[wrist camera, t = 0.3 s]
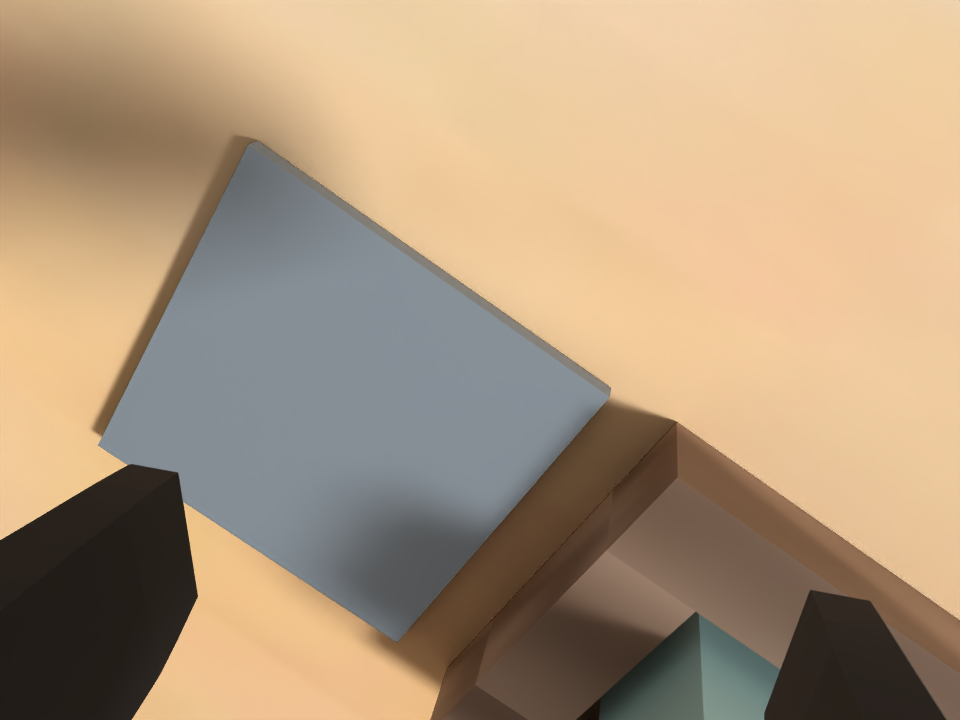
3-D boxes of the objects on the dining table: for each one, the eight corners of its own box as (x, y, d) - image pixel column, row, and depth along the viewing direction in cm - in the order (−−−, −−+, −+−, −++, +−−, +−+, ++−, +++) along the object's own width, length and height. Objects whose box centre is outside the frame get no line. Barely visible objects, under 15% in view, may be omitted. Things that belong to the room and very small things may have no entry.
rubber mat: (402, 630, 24) (397, 642, 24) (108, 436, 24) (97, 445, 23) (610, 387, 20) (609, 397, 20) (258, 140, 19) (248, 144, 19)
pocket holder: (733, 856, 25) (739, 941, 23) (447, 668, 25) (425, 736, 22) (1019, 662, 21) (1060, 744, 19) (676, 422, 20) (677, 477, 18)
